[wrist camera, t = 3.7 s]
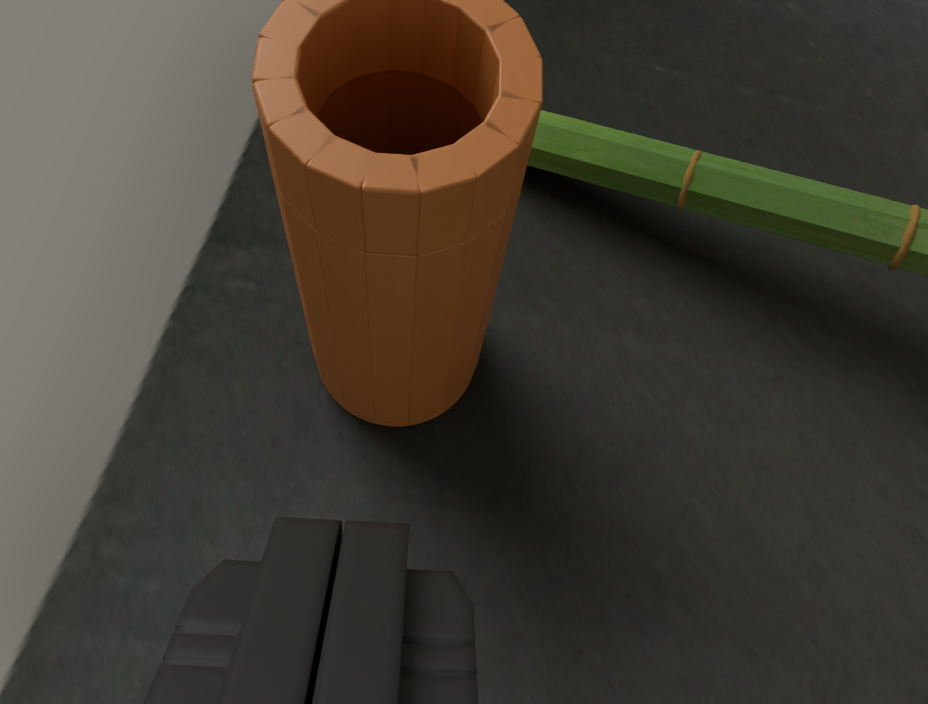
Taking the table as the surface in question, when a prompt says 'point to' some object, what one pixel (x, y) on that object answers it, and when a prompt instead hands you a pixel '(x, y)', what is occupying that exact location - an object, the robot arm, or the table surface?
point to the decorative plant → (735, 191)
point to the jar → (397, 184)
